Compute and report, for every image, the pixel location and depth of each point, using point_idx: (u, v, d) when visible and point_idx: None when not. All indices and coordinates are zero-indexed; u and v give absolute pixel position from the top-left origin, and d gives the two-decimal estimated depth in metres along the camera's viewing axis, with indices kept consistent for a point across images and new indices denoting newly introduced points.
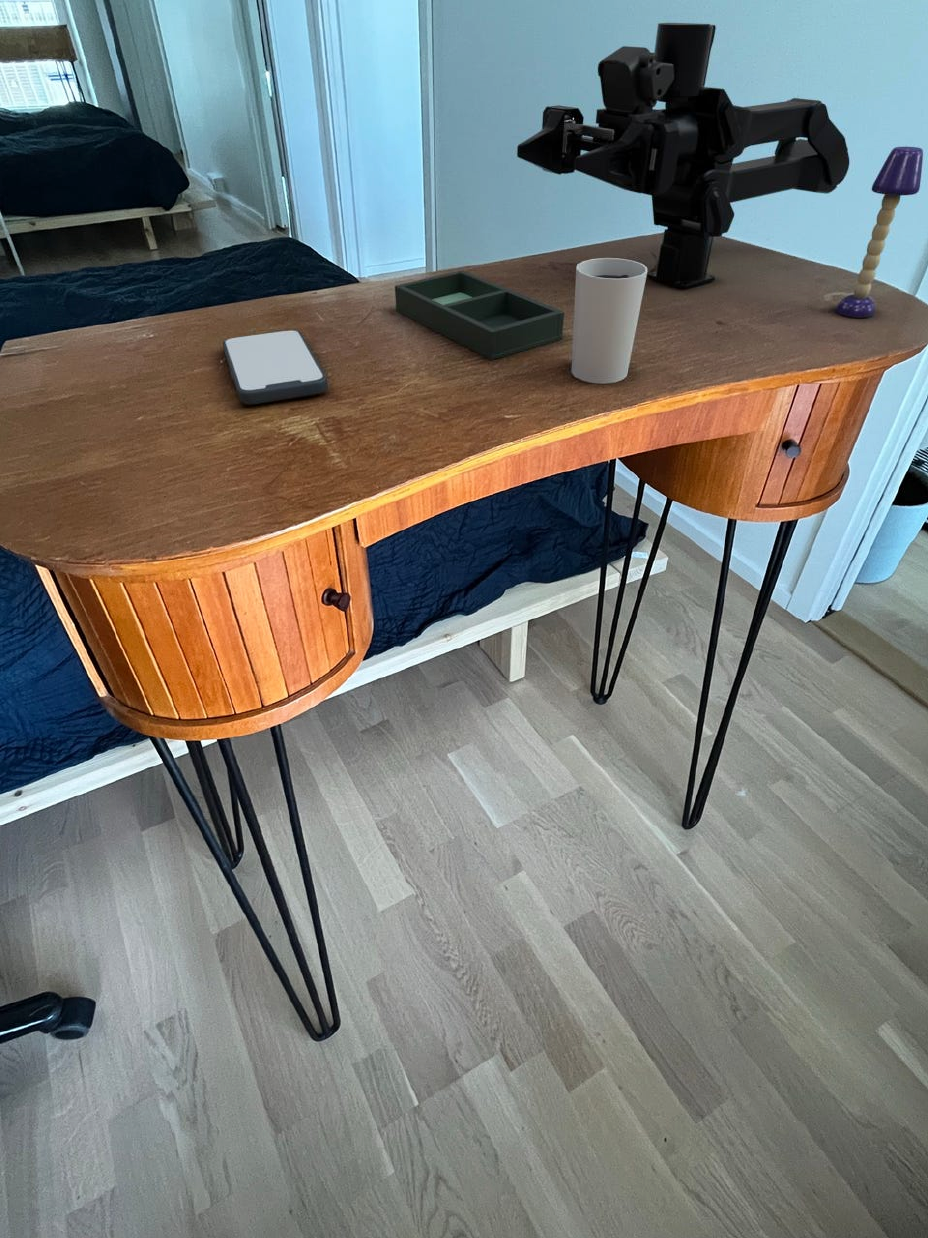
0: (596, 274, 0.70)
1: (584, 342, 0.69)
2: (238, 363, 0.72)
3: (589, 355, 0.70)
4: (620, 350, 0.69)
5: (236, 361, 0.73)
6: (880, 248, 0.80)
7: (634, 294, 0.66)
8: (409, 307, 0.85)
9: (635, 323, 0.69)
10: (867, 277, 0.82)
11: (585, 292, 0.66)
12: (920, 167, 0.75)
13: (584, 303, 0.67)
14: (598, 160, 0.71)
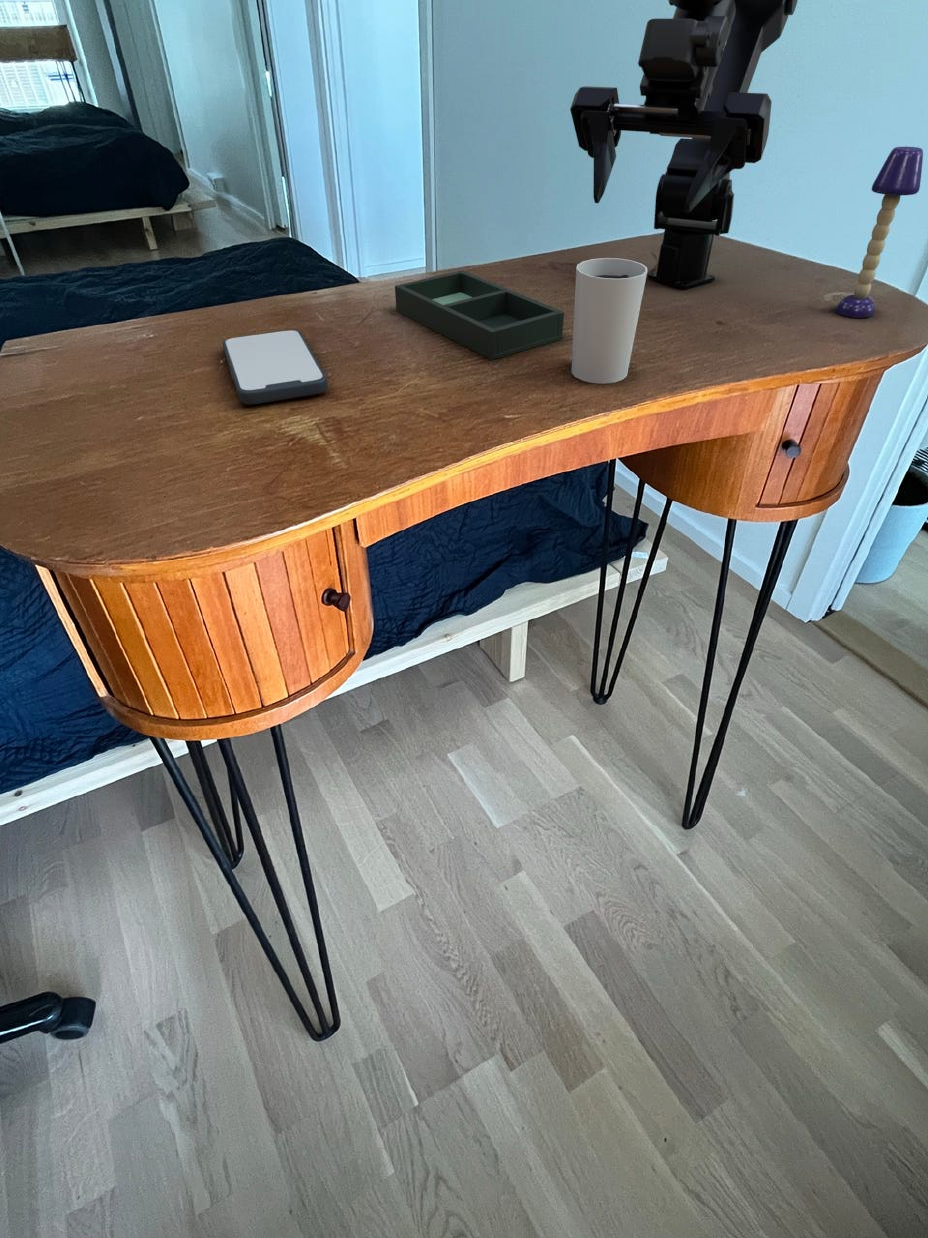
0: (596, 274, 0.70)
1: (584, 342, 0.69)
2: (238, 363, 0.72)
3: (589, 355, 0.70)
4: (620, 350, 0.69)
5: (236, 361, 0.73)
6: (880, 248, 0.80)
7: (634, 294, 0.66)
8: (409, 307, 0.85)
9: (635, 323, 0.69)
10: (867, 277, 0.82)
11: (585, 292, 0.66)
12: (920, 167, 0.75)
13: (584, 303, 0.67)
14: (702, 185, 0.68)
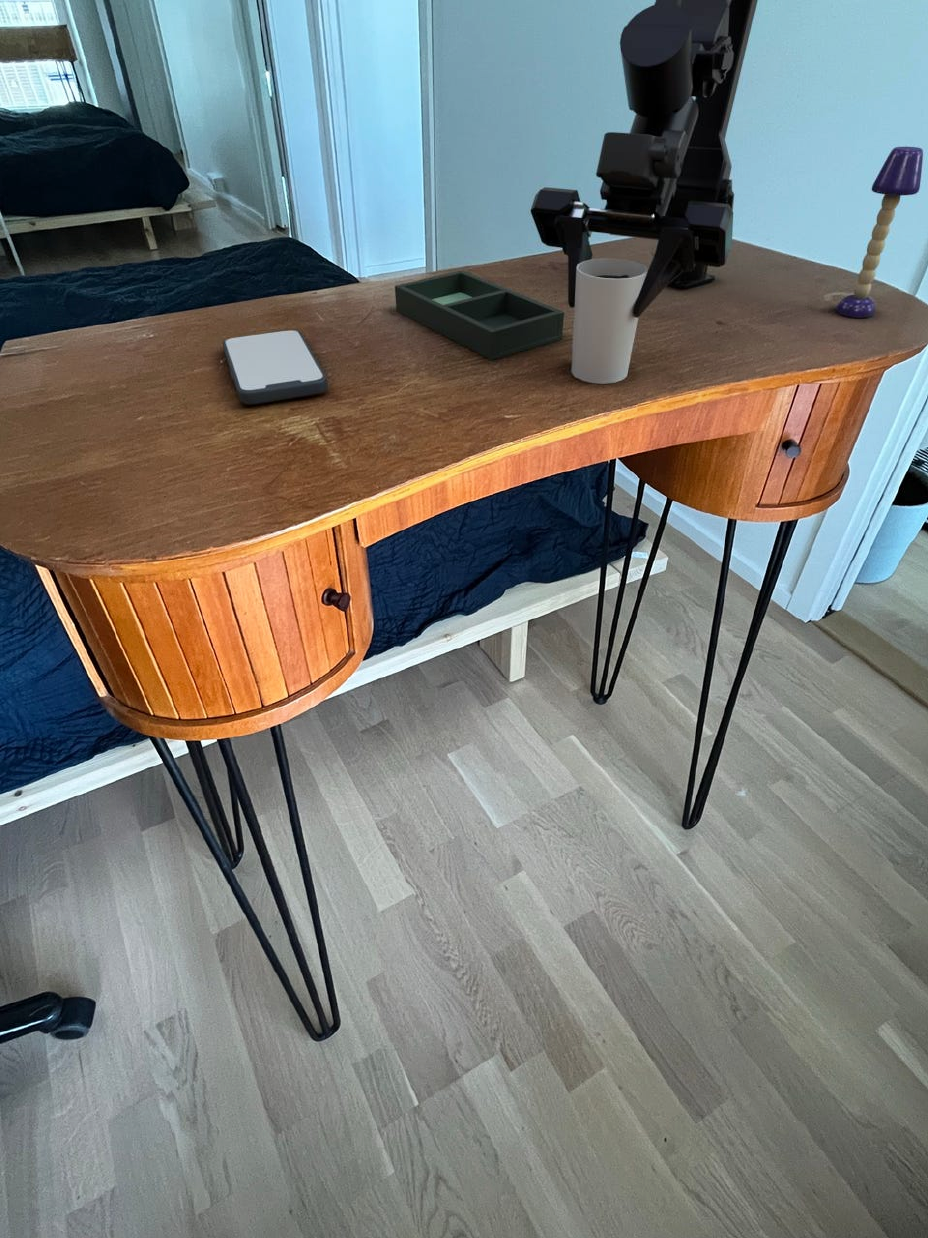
0: (596, 274, 0.70)
1: (584, 342, 0.69)
2: (238, 362, 0.72)
3: (589, 355, 0.70)
4: (620, 350, 0.69)
5: (236, 361, 0.73)
6: (880, 248, 0.80)
7: (634, 294, 0.66)
8: (409, 307, 0.85)
9: (635, 323, 0.69)
10: (867, 277, 0.82)
11: (585, 292, 0.66)
12: (920, 167, 0.75)
13: (584, 303, 0.67)
14: (650, 291, 0.67)
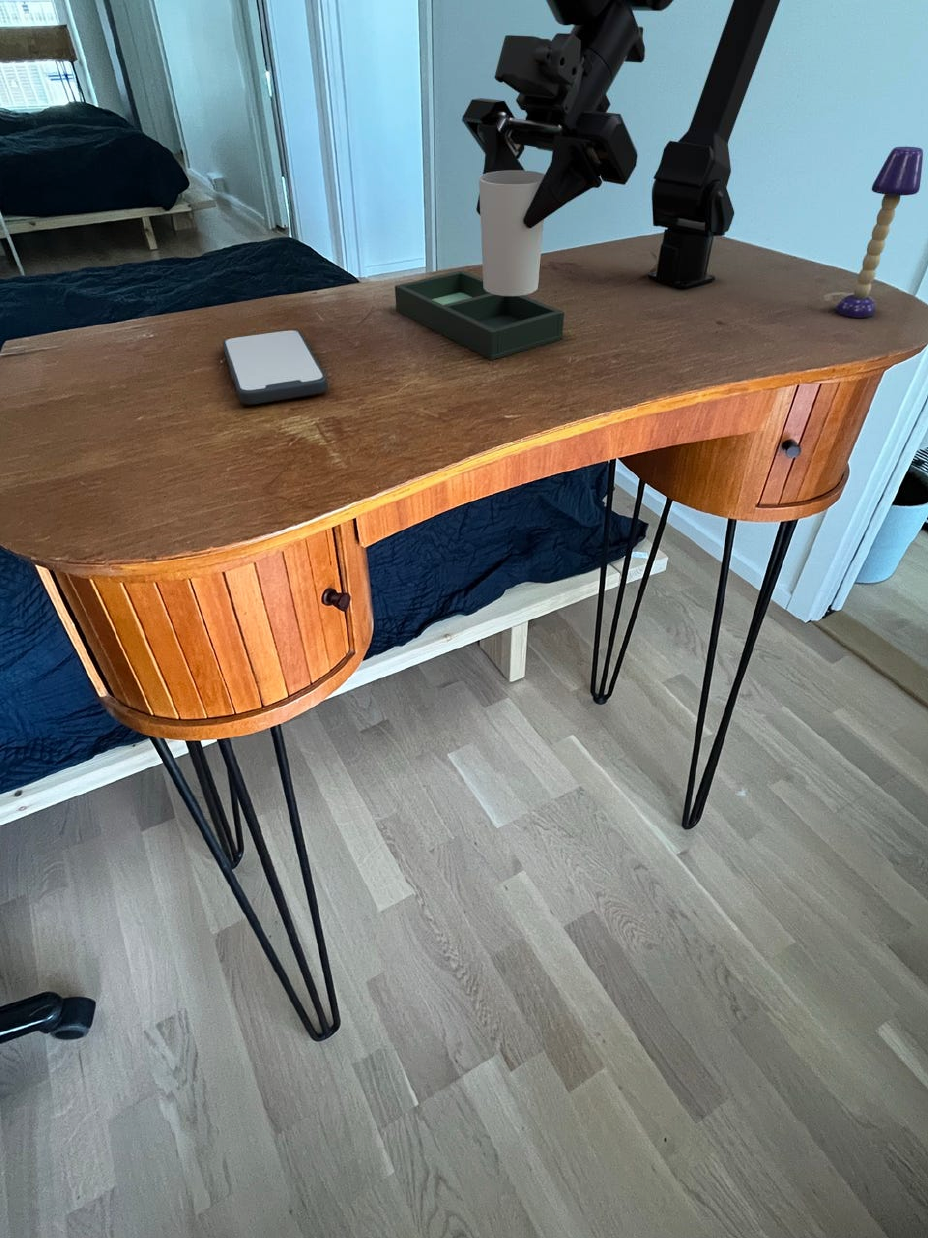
0: None
1: (484, 251, 0.71)
2: (238, 363, 0.72)
3: (488, 264, 0.72)
4: (516, 262, 0.70)
5: (236, 361, 0.73)
6: (880, 248, 0.80)
7: (524, 203, 0.67)
8: (409, 307, 0.85)
9: (533, 236, 0.69)
10: (867, 277, 0.82)
11: (481, 198, 0.69)
12: (920, 167, 0.75)
13: (482, 210, 0.69)
14: (544, 202, 0.67)
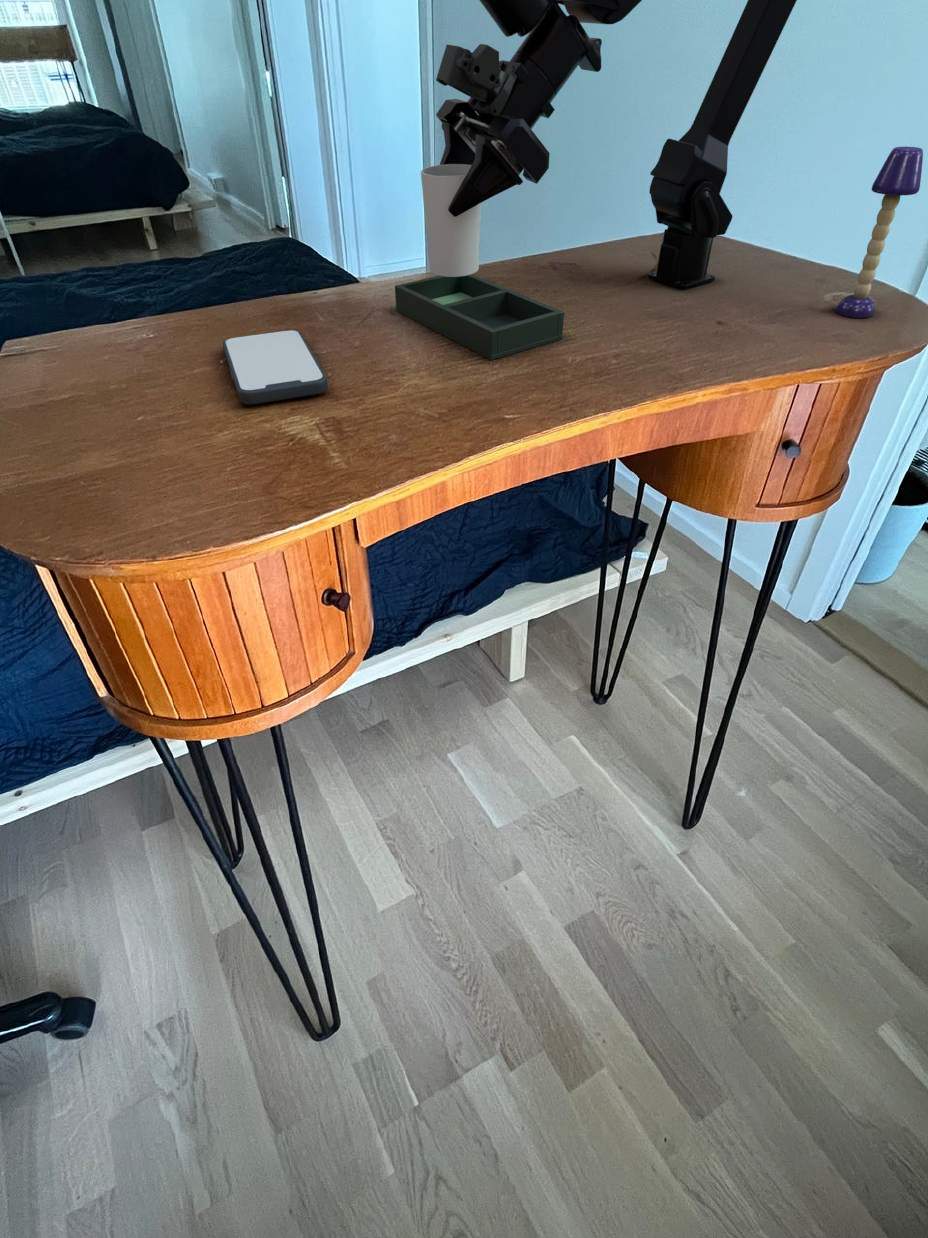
0: None
1: (427, 233, 0.81)
2: (238, 363, 0.72)
3: (428, 246, 0.81)
4: (446, 245, 0.79)
5: (236, 361, 0.73)
6: (880, 248, 0.80)
7: (448, 193, 0.75)
8: (409, 307, 0.85)
9: (461, 223, 0.78)
10: (867, 277, 0.82)
11: None
12: (920, 167, 0.75)
13: None
14: (467, 194, 0.75)
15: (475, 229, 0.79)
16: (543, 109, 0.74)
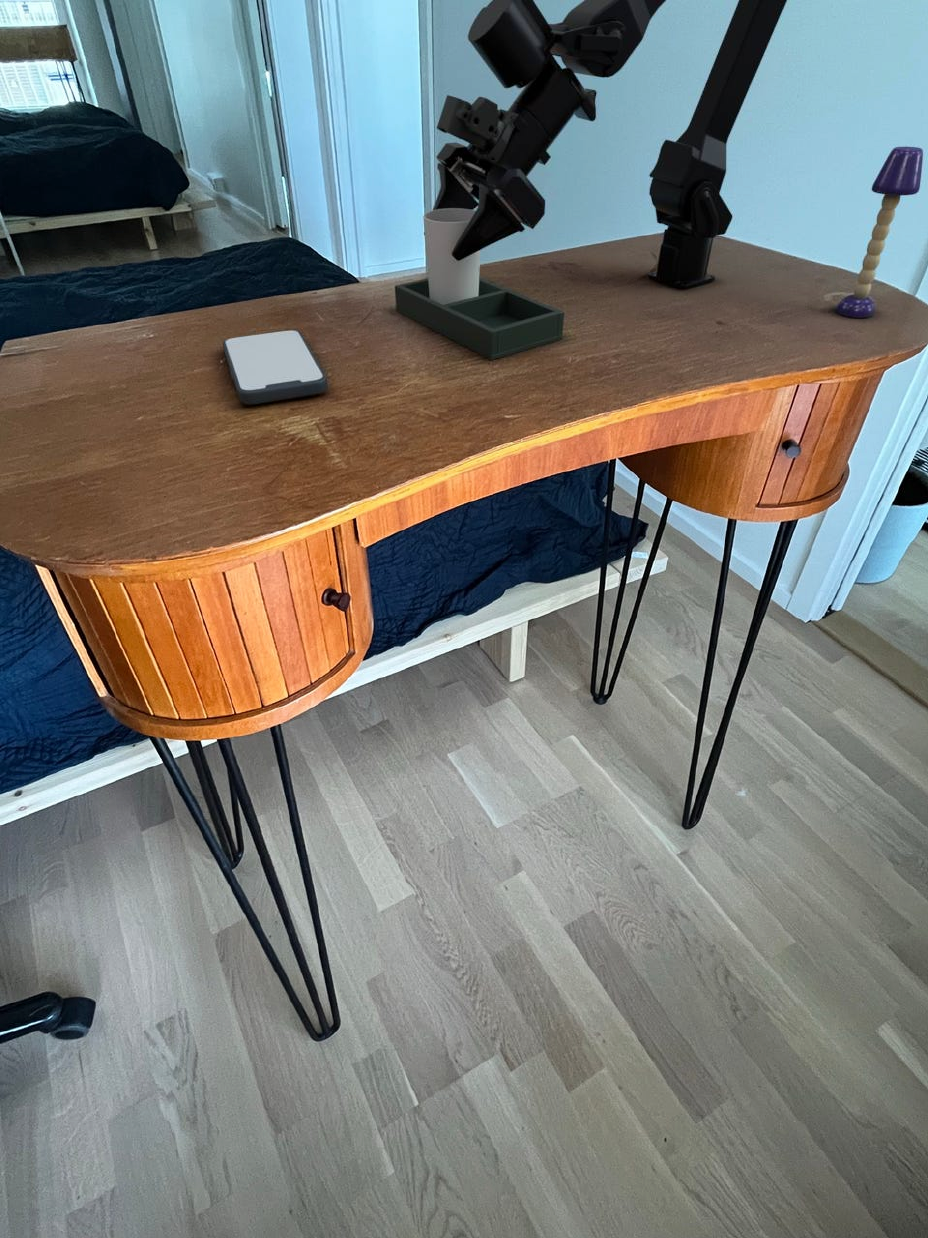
0: None
1: (428, 274, 0.84)
2: (238, 363, 0.72)
3: (429, 286, 0.84)
4: (447, 286, 0.82)
5: (236, 361, 0.73)
6: (880, 248, 0.80)
7: (450, 238, 0.78)
8: (409, 307, 0.85)
9: (461, 266, 0.81)
10: (867, 277, 0.82)
11: None
12: (920, 167, 0.75)
13: None
14: (470, 240, 0.77)
15: (475, 271, 0.82)
16: (539, 156, 0.77)
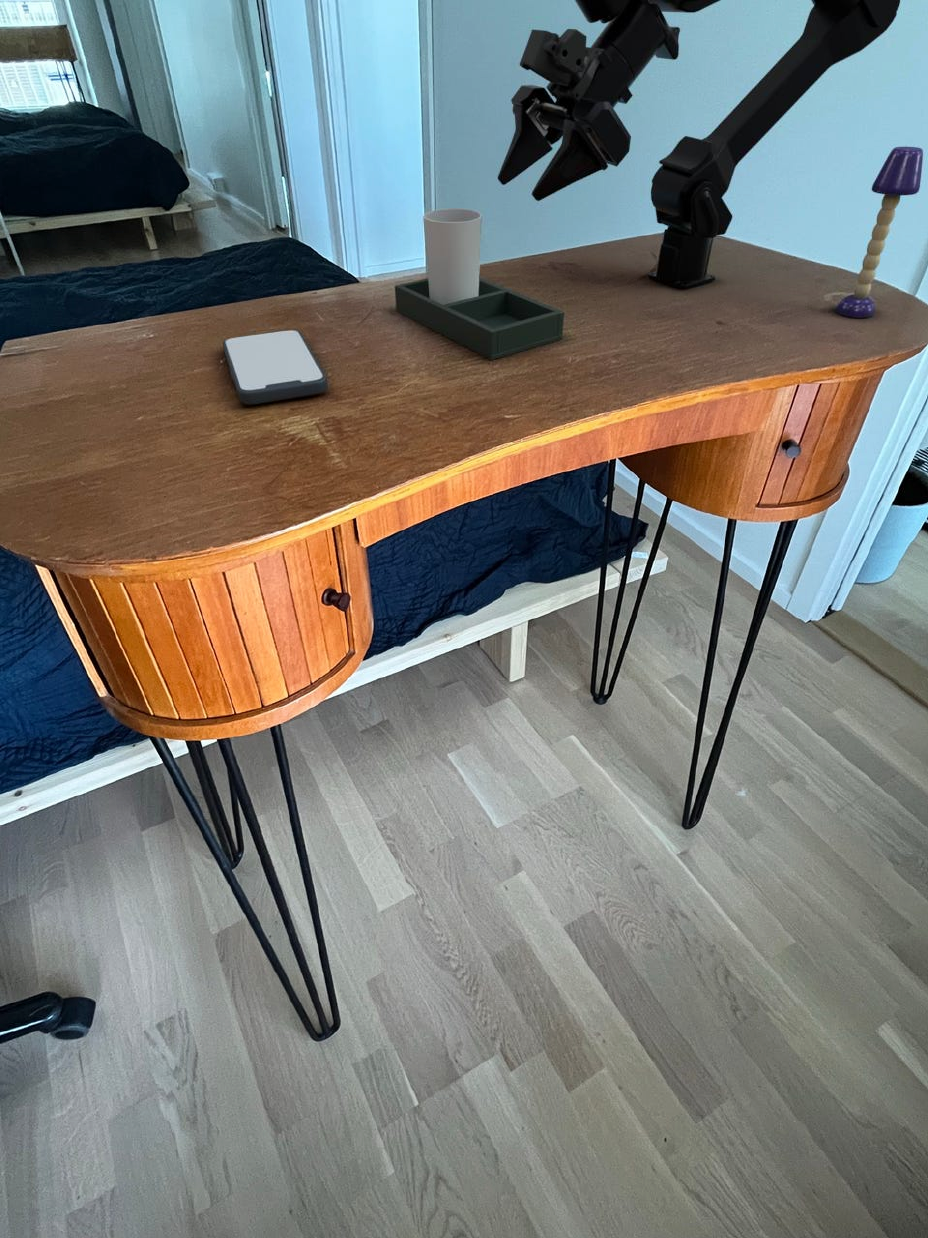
0: None
1: (428, 274, 0.84)
2: (238, 363, 0.72)
3: (429, 286, 0.84)
4: (447, 286, 0.82)
5: (236, 361, 0.73)
6: (880, 248, 0.80)
7: (450, 238, 0.78)
8: (409, 307, 0.85)
9: (461, 266, 0.81)
10: (867, 277, 0.82)
11: None
12: (920, 167, 0.75)
13: None
14: (552, 178, 0.76)
15: (475, 271, 0.82)
16: (622, 95, 0.76)
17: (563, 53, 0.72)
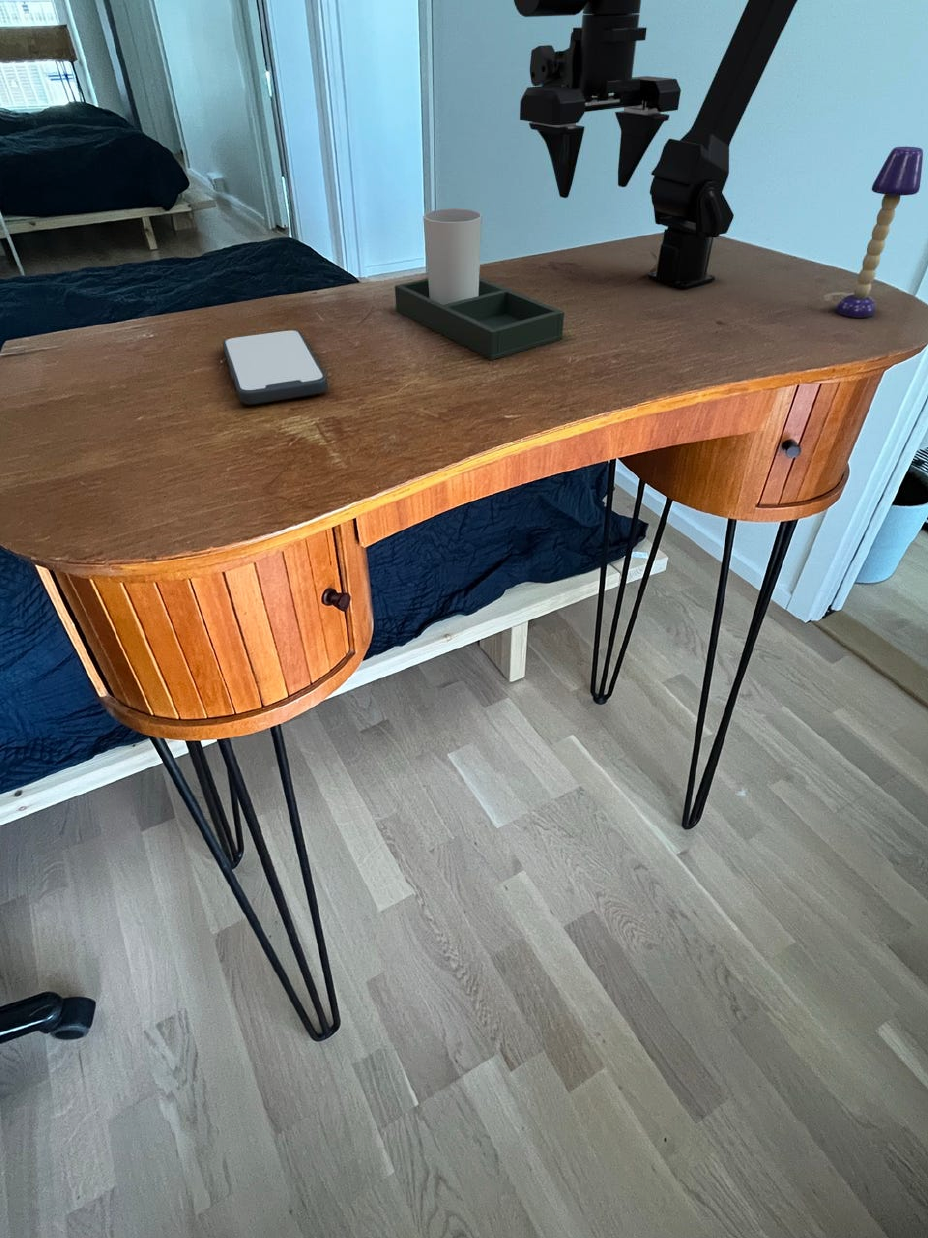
0: None
1: (428, 274, 0.84)
2: (238, 363, 0.72)
3: (429, 286, 0.84)
4: (447, 286, 0.82)
5: (236, 361, 0.73)
6: (880, 248, 0.80)
7: (450, 238, 0.78)
8: (409, 307, 0.85)
9: (461, 266, 0.81)
10: (867, 277, 0.82)
11: None
12: (920, 167, 0.75)
13: None
14: (560, 173, 0.78)
15: (475, 271, 0.82)
16: (603, 40, 0.71)
17: None
